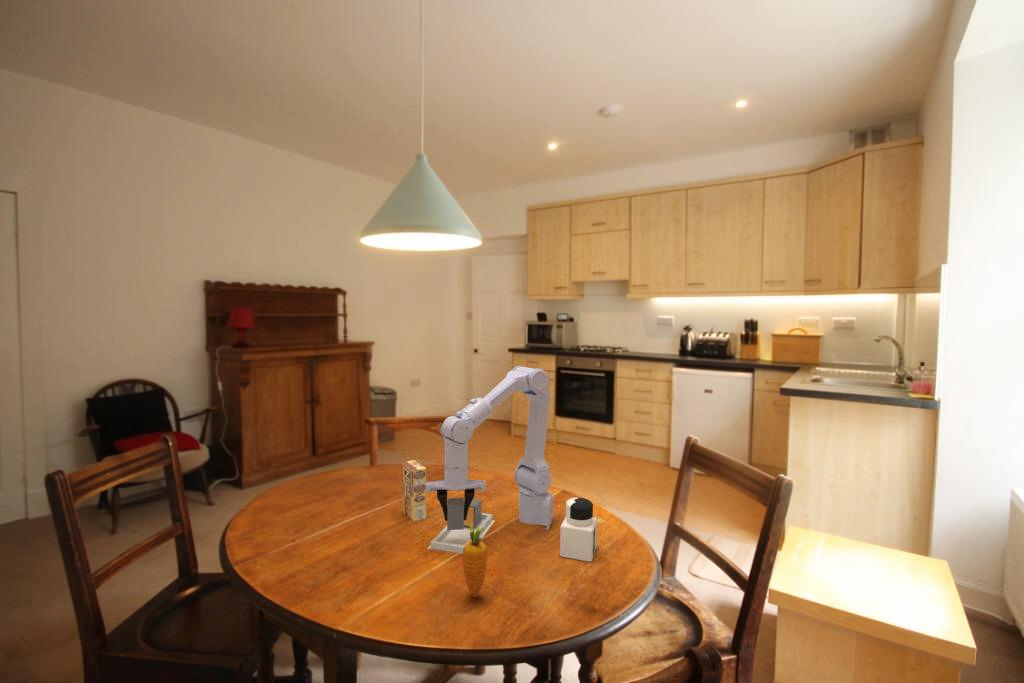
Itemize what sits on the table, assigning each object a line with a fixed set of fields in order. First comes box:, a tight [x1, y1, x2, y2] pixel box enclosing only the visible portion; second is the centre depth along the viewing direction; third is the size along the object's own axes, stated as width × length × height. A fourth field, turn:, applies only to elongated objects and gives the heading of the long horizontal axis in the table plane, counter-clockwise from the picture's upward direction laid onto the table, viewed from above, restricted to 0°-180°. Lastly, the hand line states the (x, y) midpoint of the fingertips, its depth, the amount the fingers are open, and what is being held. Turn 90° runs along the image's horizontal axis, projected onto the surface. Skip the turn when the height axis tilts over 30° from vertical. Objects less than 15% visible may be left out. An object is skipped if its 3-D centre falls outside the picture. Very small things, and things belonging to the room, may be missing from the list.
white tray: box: [427, 512, 496, 555], centre depth 122 cm, size 11×20×2 cm, turn 164°
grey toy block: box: [464, 498, 483, 529], centre depth 127 cm, size 4×5×6 cm
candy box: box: [401, 460, 427, 522], centre depth 133 cm, size 9×4×15 cm, turn 33°
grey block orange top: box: [446, 497, 464, 530], centre depth 117 cm, size 4×5×6 cm
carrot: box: [462, 524, 488, 598], centre depth 95 cm, size 5×5×15 cm
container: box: [559, 497, 598, 563], centre depth 115 cm, size 8×8×13 cm
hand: (455, 518), depth 117 cm, fingers closed on grey block orange top, 4 cm apart
